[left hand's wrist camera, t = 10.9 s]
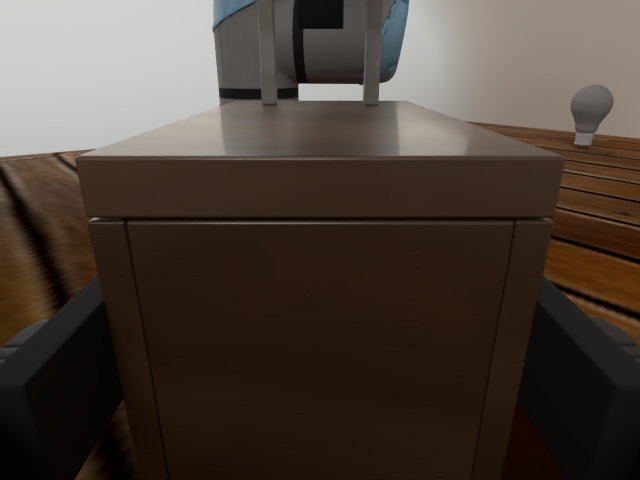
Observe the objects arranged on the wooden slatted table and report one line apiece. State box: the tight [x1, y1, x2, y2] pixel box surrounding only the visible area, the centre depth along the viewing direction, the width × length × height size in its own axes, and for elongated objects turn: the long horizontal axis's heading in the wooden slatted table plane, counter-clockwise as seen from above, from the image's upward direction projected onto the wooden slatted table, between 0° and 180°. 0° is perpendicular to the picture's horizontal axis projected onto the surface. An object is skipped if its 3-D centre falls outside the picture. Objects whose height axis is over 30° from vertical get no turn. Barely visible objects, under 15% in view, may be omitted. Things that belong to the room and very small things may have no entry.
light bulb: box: [571, 85, 613, 147], centre depth 73 cm, size 6×6×10 cm
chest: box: [88, 218, 553, 480], centre depth 18 cm, size 16×10×10 cm, turn 0°
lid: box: [75, 0, 565, 218], centre depth 15 cm, size 17×10×9 cm, turn 0°
